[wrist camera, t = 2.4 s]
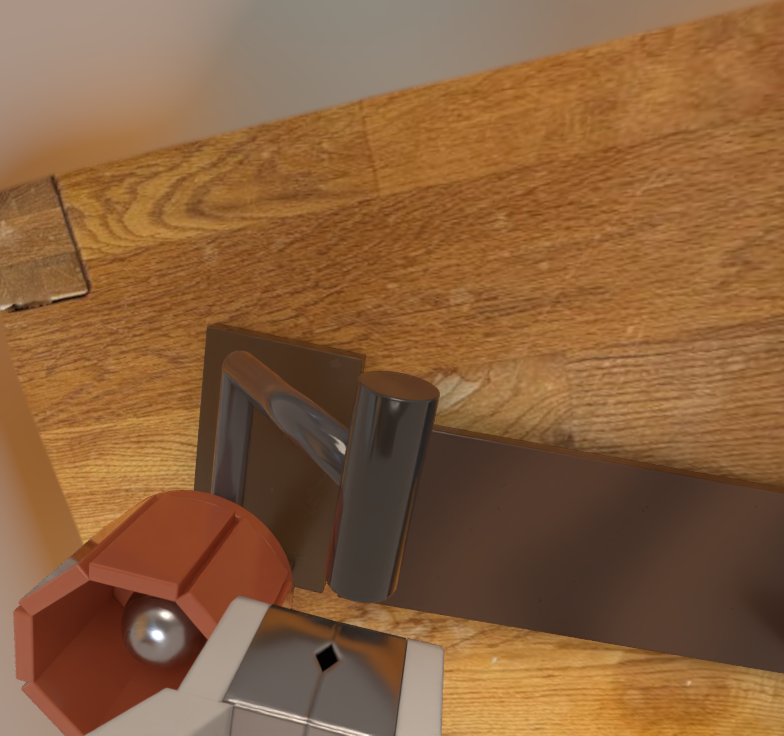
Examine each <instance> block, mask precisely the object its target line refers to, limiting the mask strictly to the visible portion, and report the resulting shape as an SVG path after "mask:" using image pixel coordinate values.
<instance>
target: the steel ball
mask: <svg viewBox="0 0 784 736" xmlns="http://www.w3.org/2000/svg"><path fill="white" fill-rule="evenodd" d="M121 634H122V639H123V642H124V645H125V647H126V648H127V650H128V652H129V653H130V654H131V656H132V657H133V658H135V659H136V660H137V661H138V662H140V663H142V664H144V665H146V666H149V667H154V668H168V667H174V666H177V665H180V664H182V663H184V662H186V661H188V660H190V659H191V658H193V657H194V656H195V655H197V654H198V653H199V652H200V651H201V650H202V649H203V647H204V646H205V644H206V642H207V641H208V640H207V639H206V638H205V636H204V635H203V634H202V633H201V632H200V630H199V629H198V628H197V627H196V626H195V625H194V623H193V622H192V621H191V620H190V619H189V617H188V616H187V615H186V614H185V613H184V612H183V610H182V609H181V608H180V607H179V606H178V605H177V603H176V602H174V601H170V600H166V599H162V598H158V597H154V596H150V595H146V594H142V593H138V592H133V593H132V595H131V596H130V598H129V599H128V601H127V603H126V605H125V608H124V611H123V614H122V619H121Z"/></svg>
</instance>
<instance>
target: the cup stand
mask: <svg viewBox="0 0 784 736" xmlns="http://www.w3.org/2000/svg"><path fill="white" fill-rule="evenodd" d="M235 351H246V352H249V353H251V354H252V355H254V356H255V357H256V358H258V359H259V360H260V361H261V362H263V363H264V364H265V365H267V366H268V367H269V368H270V369H272V370H273V371H274V372H276V373H277V374H278V375H279V376H281V377H282V378H283V379H285V380H286V381H287V382H288V383H290V384H291V385H292V386H294V387H295V388H296V389H297V390H299V391H300V392H301V393H303V394H304V395H305V396H307V397H308V398H309V399H310V400H312V401H313V402H314V403H316V404H317V405H318V406H319V407H321V408H322V409H323V410H325V411H326V412H327V413H328V414H330V415H331V416H332V417H334V418H335V419H336V420H337V421H339V422H340V423H341V424H343V425H344V426H345V427H346V428H348V429H349V427H350V421H351V415H352V409H353V403H354V397H355V392H356V386H357V380H358V378H359V376H360V375H362V374H363V369H364V364H365V358H366V355H364V354H359V353H354V352H349V351H345V350H340V349H335V348H331V347H326V346H321V345H316V344H312V343H307V342H302V341H297V340H293V339H288V338H283V337H278V336H274V335H269V334H264V333H259V332H255V331H250V330H245V329H240V328H236V327H231V326H226V325H221V324H217V323H215V324H213V325H211V326H208V327H207V333H206V346H205V358H204V371H203V383H202V396H201V408H200V420H199V433H198V445H197V458H196V470H195V483H194V491H200V492H206V493H210V494H211V486H212V475H213V464H214V453H215V442H216V431H217V420H218V409H219V398H220V387H221V376H222V366H223V362H224V360H225V359H226V357H227V356H228V355H229V354H231V353H233V352H235ZM338 491H339V485H338V484H337V483H336V482H335V481H334V480H333V479H331V478H330V477H329V476H328V475H327V474H326V473H325V472H324V471H323V470H322V469H321V468H320V467H319V466H318V465H317V464H316V463H314V462H313V461H312V460H311V459H310V458H309V457H308V456H307V455H306V454H305V453H304V452H303V451H302V450H301V449H300V448H299V447H297V446H296V445H295V444H294V443H293V442H292V441H291V440H290V439H289V438H288V437H287V436H286V435H285V434H284V433H283V432H282V431H280V430H279V429H278V428H277V427H276V426H275V425H274V424H273V423H272V422H271V421H270V420H269V419H268V418H267V417H266V416H265V415H264V414H262V413H261V412H260V411H259V410H258V409H257V408H256V407H255V410H254V419H253V428H252V437H251V446H250V454H249V463H248V472H247V481H246V490H245V499H244V508H245V509H246V510H248V511H249V512H250V513H252V514H253V515H255V516H256V517H257V518H258V519H259V520H260V521H261V522H262V523H264V524H265V525H266V527H267V528H268V529H269V530H270V531H271V532H272V533H273V535H274V536H275V537H276V539H277V540H278V542H279V543H280V545H281V547H282V548H283V550H284V552H285V554H286V556H287V559H288V562H289V564H290V567H291V572H292V576H293V586H294V587H298V588H302V589H306V590H310V591H314V592H319V593H323V590H324V587H325V585H326V582H327V581H326V578H325V566H326V561H327V555H328V549H329V543H330V537H331V531H332V526H333V520H334V514H335V508H336V502H337V497H338Z"/></svg>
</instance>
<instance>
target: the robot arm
mask: <svg viewBox="0 0 784 736" xmlns="http://www.w3.org/2000/svg"><path fill="white" fill-rule="evenodd" d="M443 674H444V650H443V648H442V646H440V645H436V644H431V643H427V642H423V641H418V640H414V639H410V638H408V639H407V640H406V638H403V637H399V636H395V635H391V634H387V633H383V632H378V631H374V630H370V629H366V628H362V627H358V626H353V625H349V624H345V623H341V622H336V621H332V620H329V619H325V618H322V617H318V616H314V615H311V614H307V613H304V612H300V611H296V610H293V609H289V608H286V607H282V606H278V605H275V604H272V605H271V604H268V603H264V602H261V601H257V600H254V599H250V598H247V597H243V596H240V595H239V596H238V597H237V598H235V599H234V600H233V601H232V602H231V603H230V605H229V606H228V608H227V610H226V611H225V613H224V615H223V616H222V618H221V619H220V621H219V623H218V624H217V626H216V628H215V629H214V631H213V633H212V634H211V636H210V637H209V639H208V641H207V642H206V644H205V646H204V647H203V649H202V651H201V652H200V654H199V655H198V657H197V659H196V660H195V662H194V664H193V665H192V667H191V669H190V670H189V672H188V673H187V675H186V677H185V678H184V680H183V682H182V683H181V685H180V687H179V688H178V690H174V689H170V688H164V689H163V690H161V691H159V692H158V693H156V694H154V695H152V696H151V697H149V698H147V699H146V700H144V701H142V702H141V703H139V704H137V705H135V706H134V707H132V708H130V709H129V710H127V711H125V712H124V713H122V714H120V715H118V716H117V717H115V718H113V719H112V720H110V721H108V722H106V723H105V724H103V725H101V726H100V727H98V728H96V729H95V730H93V731H91V732H89V733H88V734H86V735H84V736H441V733H442V704H443Z"/></svg>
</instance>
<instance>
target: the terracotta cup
mask: <svg viewBox="0 0 784 736" xmlns="http://www.w3.org/2000/svg"><path fill="white" fill-rule="evenodd" d="M439 398H440V392H439V390H438V389H437V388H436V387H435V386H434V385H432V384H431V383H429V382H427V381H425V380H423V379H420V378H417V377H414V376H411V375H407V374H403V373H398V372H390V371H372V372H367V373H364V374H362V375H360V376H359V378H358V380H357V386H356V392H355V397H354V403H353V409H352V415H351V421H350V427H349V429H348V428H346V427H345V426H344V425H343V424H341V423H340V422H339V421H337V420H336V419H335V418H334V417H332V416H331V415H330V414H328V413H327V412H326V411H325V410H323V409H322V408H321V407H319V406H318V405H317V404H316V403H314V402H313V401H312V400H310V399H309V398H308V397H307V396H305V395H304V394H303V393H301V392H300V391H299V390H297V389H296V388H295V387H294V386H292V385H291V384H290V383H288V382H287V381H286V380H285V379H283V378H282V377H281V376H279V375H278V374H277V373H276V372H274V371H273V370H272V369H270V368H269V367H268V366H267V365H265V364H264V363H263V362H261V361H260V360H259V359H258V358H256V357H255V356H254V355H252V354H251V353H249V352H246V351H235V352H233V353H231V354H229V355H228V356H227V357H226V359H225V360H224V362H223V366H222V376H221V387H220V398H219V409H218V420H217V431H216V442H215V453H214V464H213V475H212V486H211V494H210V493H206V492H200V491H193V490H176V491H168V492H163V493H158V494H156V495H153V496H150V497H148V498H146V499H144V500H142V501H140V502H138V503H137V504H136V505H134V506H133V507H132V508H131V509H129V510H128V511H127V512H126V513H125V514H124V515H122V516H121V517H119V518H117V519H116V520H114V521H113V522H111V523H110V524H108V525H107V526H105V527H104V528H103V529H101V530H100V531H99V532H98V533H97V534H96V535H95V536H93V537H92V538H91V539H90V540H89V541H88V542H86V543H85V544H84V545H83V546H82V547H81V548H80V549H78V550H77V551H76V552H75V553H74V554H73V555H71V556H70V557H69V558H68V559H67V560H66V561H64V562H63V563H62V564H61V565H60V566H59V567H58V568H56V569H55V570H54V571H53V572H52V573H51V574H50V575H48V576H47V577H46V578H45V579H44V580H43V581H42V582H40V583H39V584H38V585H37V586H36V587H35V588H33V589H32V590H31V591H30V592H29V593H28V594H26V595H25V596H24V597H23V598H22V599H21V600H20V601H19V604H20V606H19V607H18V608H16V609H15V611H14V640H15V667H16V679H18V680H21V681H25V682H26V683H25V684H24V686H22V688H21V689H22V691H23V692H24V693H25V694H26V695H27V696H28V697H29V698H30V699H31V700H32V702H33V703H34V704H35V705H36V706H37V707H38V708H39V709H40V710H41V711H42V712H43V713H44V714H45V715H46V716H47V717H48V719H49V720H50V721H51V722H52V723H53V724H54V725H55V726H56V727H57V728H58V729H59V730H60V731H61V732H62V733H63V734H64V735H65V736H84V735H86V734H88V733H89V732H91V731H93V730H95V729H96V728H98V727H100V726H101V725H103V724H105V723H106V722H108V721H110V720H112V719H113V718H115V717H117V716H118V715H120V714H122V713H124V712H125V711H127V710H129V709H130V708H132V707H134V706H135V705H137V704H139V703H141V702H142V701H144V700H146V699H147V698H149V697H151V696H152V695H154V694H156V693H158V692H159V691H161V690H163V689H164V688H170V689H174V690H178V688H179V687H180V685H181V683H182V682H183V680H184V678H185V677H186V675H187V673H188V672H189V670H190V669H191V667H192V665H193V664H194V662H195V660H196V659H197V657H198V655H199V654H200V652H201V651H202V650H201V651H200V652H199V653H198V654H197V655H195V656H194V657H193V658H191V659H190V660H188V661H186V662H184V663H182V664H180V665H177V666H174V667H168V668H154V667H149V666H146V665H144V664H142V663H140V662H138V661H137V660H136V659H135V658H133V657H132V656H131V654H130V653H129V652H128V650H127V648H126V647H125V645H124V642H123V639H122V634H121V619H122V614H123V611H124V608H125V605H126V603H127V601H128V599H129V598H130V596H131V595H132V593H133V592H138V593H142V594H146V595H150V596H154V597H158V598H162V599H166V600H170V601H174V602H176V603H177V605H178V606H179V607H180V608H181V609H182V610H183V612H184V613H185V614H186V615H187V616H188V617H189V619H190V620H191V621H192V622H193V623H194V625H195V626H196V627H197V628H198V629H199V630H200V632H201V633H202V634H203V635H204V636H205V638H206V639H207V640H208V639H209V637H210V636H211V634H212V633H213V631H214V629H215V628H216V626H217V624H218V623H219V621H220V619H221V618H222V616H223V615H224V613H225V611H226V610H227V608H228V606H229V605H230V603H231V602H232V601H233V600H234V599H235V598H237V597H238V596H239V595H240V596H243V597H247V598H250V599H254V600H257V601H261V602H264V603H268V604H271V605H272V604H275V605H278V606H282V607H286V608H289V609H291V606H292V602H293V592H294V586H293V576H292V572H291V567H290V564H289V562H288V559H287V556H286V554H285V552H284V550H283V548H282V547H281V545H280V543H279V542H278V540H277V539H276V537H275V536H274V535H273V533H272V532H271V531H270V530H269V529H268V528H267V527H266V525H265V524H264V523H262V522H261V521H260V520H259V519H258V518H257V517H256V516H255V515H253V514H252V513H250V512H249V511H248V510H246V509H245V508H244V499H245V490H246V481H247V472H248V463H249V454H250V446H251V437H252V428H253V419H254V410H255V407H256V408H257V409H258V410H259V411H260V412H261V413H262V414H264V415H265V416H266V417H267V418H268V419H269V420H270V421H271V422H272V423H273V424H274V425H275V426H276V427H277V428H278V429H279V430H280V431H282V432H283V433H284V434H285V435H286V436H287V437H288V438H289V439H290V440H291V441H292V442H293V443H294V444H295V445H296V446H297V447H299V448H300V449H301V450H302V451H303V452H304V453H305V454H306V455H307V456H308V457H309V458H310V459H311V460H312V461H313V462H314V463H316V464H317V465H318V466H319V467H320V468H321V469H322V470H323V471H324V472H325V473H326V474H327V475H328V476H329V477H330V478H331V479H333V480H334V481H335V482H336V483H337V484H338V485H339V491H338V497H337V502H336V508H335V514H334V520H333V526H332V531H331V537H330V543H329V549H328V555H327V561H326V566H325V578H326V581H327V583H328V585H329V586H330V587H331V589H332V590H333V591H334V592H336V593H337V594H338V595H340V596H341V597H343V598H345V599H348V600H351V601H354V602H359V603H375V602H380V601H382V600H385V599H387V598H388V597H390V596H391V595H392V594H393V593H394V592H395V590H396V588H397V586H398V582H399V578H400V573H401V569H402V564H403V560H404V555H405V551H406V546H407V542H408V537H409V533H410V528H411V524H412V519H413V515H414V510H415V506H416V501H417V497H418V492H419V488H420V483H421V479H422V474H423V470H424V465H425V461H426V456H427V452H428V447H429V443H430V438H431V434H432V429H433V425H434V420H435V416H436V411H437V407H438V402H439Z"/></svg>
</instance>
